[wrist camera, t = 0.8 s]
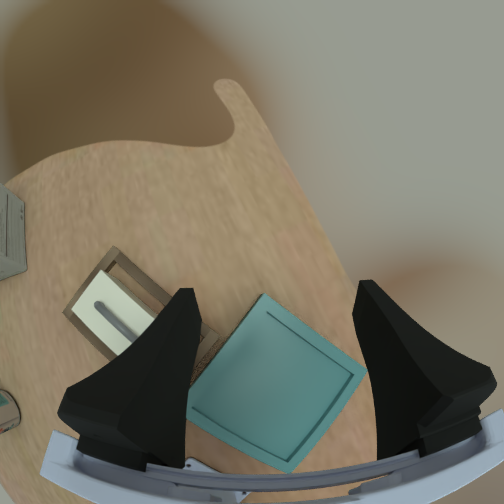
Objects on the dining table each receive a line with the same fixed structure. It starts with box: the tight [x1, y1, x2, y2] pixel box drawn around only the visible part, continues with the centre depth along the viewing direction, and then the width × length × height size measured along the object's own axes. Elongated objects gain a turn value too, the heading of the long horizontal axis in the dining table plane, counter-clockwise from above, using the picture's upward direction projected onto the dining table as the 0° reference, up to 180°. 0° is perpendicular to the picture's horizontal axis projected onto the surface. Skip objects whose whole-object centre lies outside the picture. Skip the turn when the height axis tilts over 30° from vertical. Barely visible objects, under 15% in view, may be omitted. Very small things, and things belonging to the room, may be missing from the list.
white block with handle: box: [71, 270, 158, 355], centre depth 21 cm, size 4×9×6 cm, turn 53°
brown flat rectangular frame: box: [62, 245, 220, 370], centre depth 24 cm, size 9×13×1 cm, turn 53°
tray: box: [186, 293, 368, 474], centre depth 24 cm, size 14×14×2 cm
